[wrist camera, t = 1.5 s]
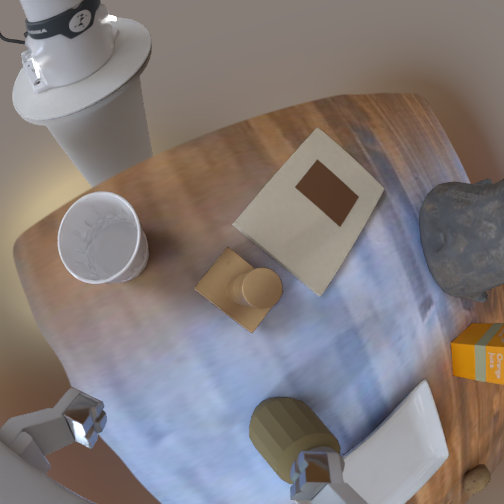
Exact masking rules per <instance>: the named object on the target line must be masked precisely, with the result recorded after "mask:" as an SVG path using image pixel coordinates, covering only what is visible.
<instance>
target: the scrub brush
mask: <svg viewBox="0 0 504 504" xmlns="http://www.w3.org/2000/svg"><path fill="white" fill-rule="evenodd" d="M194 289H195V290H196V291H197V292H198V293H200V294H201V295H202V296H203V297H205V298H206V299H207V300H208V301H210V302H211V303H212V304H214V305H215V306H216V307H217V308H219V309H220V310H221V311H223V312H224V313H225V314H226V315H228V316H229V317H230V318H232V319H233V320H234V321H236V322H237V323H238V324H240V325H241V326H242V327H244V328H245V329H246V330H248V331H249V332H251V333H253V332H254V331H255V329H256V328H257V327H258V325H259V324H260V323H261V321H262V320H263V318H264V317H265V316H266V314H267V313H268V312H269V310H270V309H271V308H272V306H274V305H275V304H276V303H277V302H278V301H279V299H280V297H281V295H282V293H283V291H282V289H283V288H282V282H281V279H280V277H279V276H278V275H277V274H276V273H275V272H274V271H273V270H271V269H268V268H256V269H255V268H254V267H253V266H251V265H250V264H249V263H248V262H246V261H245V260H244V259H243V258H242V257H240V256H239V255H238V254H237V253H235V252H234V251H233V250H232V249H230V248H229V247H227V248H226V249H225V250H224V252H223V253H222V254H221V255H220V257H219V258H218V259H217V260H216V262H215V263H214V264H213V265H212V267H211V268H210V269H209V270H208V272H207V273H206V274H205V275H204V277H203V278H202V279H201V280H200V282H199V283H198V284H197V285H196V287H195V288H194Z"/></svg>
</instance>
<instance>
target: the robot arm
mask: <svg viewBox="0 0 504 504" xmlns="http://www.w3.org/2000/svg"><path fill="white" fill-rule="evenodd" d="M20 2H21V5H22V7H23V10H24V12H25V15H26V29H27V32H26V33H24V36H25V38H26V40H25V41H21V40H14V39H8V38H5V37H3V36H2V35H1V33H0V38H1V39H2V40H4V41H7V42H13V43H19V44H26V46H27V48H28V49H27V50H25V51H24V52H22V53H21V57H22V63H23V66H24V69H25V71H26V73H27V76H28V78H29V80H30V83H31V85H32V87H33V89H34V91H35V93H36V94H39V93H42V92H44V91H46V90H48V89H50V88H55V87H62V86H67V85H70V84H73V83H76V82H78V81H80V80H82V79H84V78H86V77H88V76H90V75H91V74H93V73H94V72H96V71H97V70H98V69H100V68H101V67H102V66H103V65H104V64H105V63H106V62H107V61H108V60H109V58H110V57H111V56H112V54H113V52H114V48H115V39H116V38H117V36H118V35H119V30H118V28H115V27H112V24H111V20H112V21H116V17H115V16H110V15H109V12H108V9H107V6H106V5H103V4H100V0H20ZM103 408H104V403H103V402H102V401H100V400H98V399H96V398H94V397H92V396H89V395H87V394H85V393H83V392H82V391H80V390H78V389H76V388H74V387H72V388H70V389H69V390H68V391H67V392H66V394H65V395H64V396H63V397H62V398H61V399H60V401H59V402H58V403H57V404H56V405H55V406H54V408H53V409H51V408H47V409H43V410H40V411H36V412H33V413H29V414H25V415H21V416H17V417H13V418H10V419H9V420H8V421H7V422H6V423H5V424H4V425H3V426H2V427H1V429H0V504H96V503H93V502H92V501H89V500H88V499H85V498H84V497H82V496H80V495H78V494H76V493H74V492H73V491H71V490H69V489H67V488H66V487H64V486H62V485H61V484H59V483H57V482H56V481H54V480H53V479H51V478H50V477H48V476H47V475H46V473H47V471H48V470H49V468H50V464H49V462H48V461H47V459H46V458H45V455H47V454H49V453H51V452H54V451H56V450H58V449H60V448H63V447H65V446H67V445H69V444H71V443H73V442H75V441H77V442H79V443H81V444H83V445H85V446H87V447H89V448H92V447H93V445H94V443H95V442H96V441H97V439H98V438H97V433H100V432H102V431H103V429H104V427H105V425H106V421H107V416H106V413H105V412H104V410H103ZM290 479H291V480H292V482H293V485H292V486H291V487H290V493H291V500H307V501H310V502H311V503H312V504H368V503H367V502H366V501H365V500H364V499H363V498H362V497H361V496H360V495H359V494H358V493H357V492H356V491H355V490H354V489H353V488H352V487H351V486H350V485H349V484H348V483H344V481H343V476H342V470H341V464H340V459H339V454H338V453H337V452H316V451H301V452H300V453H299V455H298V459H297V460H295V461H294V463H293V464H292V467H291V473H290Z"/></svg>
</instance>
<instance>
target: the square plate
mask: <svg viewBox="0 0 504 504" xmlns="http://www.w3.org/2000/svg"><path fill="white" fill-rule="evenodd" d="M448 456H449V452H448V447H447V443H446V440H445V436H444V432H443V429H442V425H441V421H440V418H439V414H438V411H437V408H436V404H435V401H434V398H433V395H432V392H431V389H430V386H429V384H428V381H427V380H426V379H423V380H422V381H421V382H420V383H419V384H418V385H417V386H416V387H415V388H414V389H413V390H412V391H411V392H410V393H409V394H408V395H407V396H406V398H405V399H404V400H403V401H402V402H401V403H400V404H399V405H398V406H397V407H396V408H395V409H394V410H393V411H392V413H391V414H390V415H389V416H388V417H387V418H386V419H385V420H384V421H383V422H382V423H381V424H380V425H379V426H378V427H377V428H376V429H375V430H374V431H373V432H372V433H370V434H369V435H368V436H367V437H366V438H365V439H364V440H362V441H361V442H360V443H359V444H358V445H356V446H355V447H354V448H353V449H351V450H350V451H349V452H348V453H346V454H345V455H344V456H342V457H343V459H344V462H345V467H344V471H343V473H342V476H343V481H344V483H348V484H349V485H350V486H351V487H352V488H353V489H354V490H355V491H356V492H357V493H358V494H359V495H360V496H361V497H362V498H363V499H364V500H365V501H366V502H367V503H368V504H405V503H406V502H407V501H408V500H409V499H410V498H411V497H412V496H413V495H414V494H415V493H416V492H417V491H418V490H419V489H420V488H421V487H422V486H423V485H424V484H425V483H426V482H427V481H428V480H429V479H430V478H431V477H432V476H433V475H434V474H435V472H436V471H437V470H438V469H439V468H440V467H441V465H442V464H443V463H444V462H445V461H446V459H447V458H448ZM290 497H291V494H290ZM294 501H295V502H296V503H297V504H312V503H311V502H310V501H307V500H294Z"/></svg>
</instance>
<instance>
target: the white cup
mask: <svg viewBox="0 0 504 504" xmlns="http://www.w3.org/2000/svg"><path fill="white" fill-rule="evenodd" d="M58 249H59V253H60V257H61V259H62V262H63V264H64V265H65V267H66V268H67V270H68V271H69V272H70V273H71V274H72V275H73V276H75V277H76V278H78V279H79V280H81V281H84V282H87V283H93V284H111V283H121V282H127V281H129V280H131V279H134V278H136V277H138V276H139V275H140V273H141V272H142V271H143V270H144V269H145V267H146V265H147V261H148V258H149V248H148V241H147V238H146V235H145V233H144V230H143V227H142V225H141V223H140V221H139V218H138V216H137V214H136V212H135V210H134V208H133V207H132V206H131V204H130V203H129V202H128V201H127V200H125V199H124V198H123V197H121V196H119V195H117V194H115V193H111V192H94V193H91V194H88V195H86V196H84V197H82V198H80V199H79V200H77V201H76V202H75V203H74V204H73V205H72V206H71V207H70V208H69V210H68V211H67V212H66V214H65V216H64V218H63V220H62V222H61V225H60V228H59V233H58Z"/></svg>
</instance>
